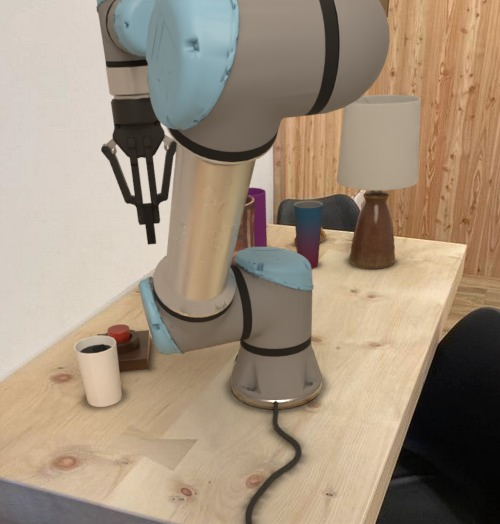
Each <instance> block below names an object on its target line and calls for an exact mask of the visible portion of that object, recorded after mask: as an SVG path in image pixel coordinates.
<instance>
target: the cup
mask: <svg viewBox="0 0 500 524" xmlns="http://www.w3.org/2000/svg"><path fill="white" fill-rule="evenodd" d="M293 208H294V223H295V224H294V225H295V237H296V244H295V245H296V253H298V254H300V255H302V256H304V257H305V258H306V259H307V260H308V261H309V263H310V265H311V268H312V269H315V268H317V267H318V266H319V257H320V256H319V255H320V244H321V242H320V233H321V227H322V222H323V221H322V220H323V219H322V218H323V208H324V203H323V202H322V201H319V200H312V199H311V200H310V199H309V200H300V201H297V202H294V204H293Z"/></svg>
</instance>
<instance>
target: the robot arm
mask: <svg viewBox="0 0 500 524" xmlns="http://www.w3.org/2000/svg"><path fill="white" fill-rule="evenodd" d="M95 9H96V12H97V14H98V21H99V27H100V34H101V39H102V46H103V48H102V49H103V54H104V60H105V71H106V79H107V85H108V93H109V95H110V96H113V98H112V99H111V101H110V106H111V113H112V120H113V132H112V138H111V139H110V140H109V141H107V142H106V143H103V144H102V145H101V149H100V152H101V153H102V154H103V156H104V157H105V158H106V159H107V161H108V162H109V164H110V167H111V169H112V173H113V175H114V178H115V180H116V182H117V184H118V187H119V190H120V193H121V196H122V197H123V201H124V202H125V204H127V205H129V204H130V205H133V206H135V209H136V216H137V223H138V224H139V226H143V225H144V226H145V234H146V241H147V246H149V245H156V244H157V237H156V227H155V224H156V225H157V224H160V222H161V216H160V214H161V213H160V206H159V205H160V204H161V203H163V202H166V201H168V200H169V193H170V186H171V178H172V172H173V179H172V180H173V181H172V191H171V201H170V202H171V203H170V214H169V222H168V223H169V224H168V235H167V246H166V255H165V256H163V257H162V258H161V259H160V260H159V262H158V263H157V264H156V267H155V268H154V271H153V277H152V276H147V277H146V278H144V279H141V280H140V281H139V282H138V291H139V295H140V300H141V305H142V308H143V311H144V316H145V319H146V322H147V326H148V330H149V333H150V337H151V339H152V341H153V344H154V347H155V349H156V351H157V352H158V353H159V354H161V355H162V356H163V355H164V356H169V355H170V356H171V355H176V354H179V355H183V354H186V353H190V352H193V351H194V352H195V351H199V350H203V349H208V348H212V347H217V346H222V345H227V344H231V343H237V342H239V348H238V352H237V354H236V355H235V359H234V362H233V363H234V364H233V365H234V366H233V369H232V373H231V377H230V383H231V391H232V393H233V395H234V396H235V397H236V399H238V400H239V401H240V402H242V403H244V404H246V405H248V406H251V407H255V408H259V409H266V410H273V412H272V413H273V415H272V425H273V428H274V429H275V431H276V432H277V433H278V434H279V436H281V437H282V438H284V439H285V440H287V441H288V442H289V443H291V444H292V445H293V446H294V448H295V451H296V453H295V456H294V457H293V459H291V460H290V461H289V462H287V464H285V465H283V466H282V467H281V468H279V469H278V470H276V471H274V472H273V473H272V474H270V476H269V477H268V478H267V479H265V481H264V482H263V483H262V485H261V486H260V487H259V488H258V490H257V491H256V492H255V493H254V495H253V496H252V497H251V499H250V501H249V503H248V505H247V508H246V511H245V524H253V522H252V515H253V514H252V512H253V509H254V507H255V505H256V504H257V501H258V500H259V499H260V497H261V496H262V495H263V493H264V492H265V491H266V490H267V489H268V488H269V486H270V485H271V484H272V482H274V481H275V480H276V479H277V478H278V477H279V476H281V475H282V474H284V473H285V472H287V471H289V470H290V469H292V468H293V467H294V466H295V465H296V464H297V463H298V462H299V460H300V458H301V456H302V448H301V447H302V446H301V445H300V443H299V442H298V441H297V440H296V439H295V438H294V437H292V436H290V435H289V434H288V433H286V432H285V431H284V430H282V428H281V427H280V426H279V424H278V418H279V410H283V409H292V408H295V407H299V406H303V405H305V404H307V403H309V402H311V401H313V400H314V399H315V398H316V397H317V396H319V394H320V393H321V390H322V385H323V377H322V376H323V375H322V372H321V369H320V368H321V367H320V366H319V362H318V359H317V357H316V354H315V351H314V348H313V345H312V330H313V327H312V326H313V290H314V284H313V283H314V282H313V272H312V271H313V270H312V269H313V268H311V265H310V263H309V261H308V260H307V259H306V258H305V257H304V256H302V255H300V254H298V253H297V251H296V252H295V251H294V250H293V251H292V250H289V249H285V248H280V247H273V246H267V247H250V248H245V249H243V250H240V251H238V253H237V254H236V257H235V264H232V265H231V262H232V258H233V254H234V249H235V245H236V241H237V237H238V233H239V228H240V224H241V220H242V216H243V212H244V207H245V203H246V199H247V195H248V191H249V188H251V187H250V185H251V182H252V178H253V174H254V171H255V170H254V168H255V166H256V161H257V160H258V159H260V158H262V157H264V156H265V155H266V154H267V153H268V152H269V151H270V150H271V149H272V148H273V146H274V145H275V142H276V140H277V137H278V133H279V130H280V126H281V123H282V120H284V119H287V118H298V117H306V116H314V115H315V116H316V115H325V114H328V113H332V112H335V111H338V110H341V109H344V107H346V106H347V105H349V104H351V103H353V102H354V101H356V100H357V99H359V98H360V97H361V96H364V94H366V92H368V91H369V90H370V89H371V88H372V86H373V85H374V84H375V82H376V81H377V79H378V78H379V76H380V74H381V73H382V71H383V69H384V68H385V67H384V66H385V63H386V61H387V57H388V54H389V47H390V26H389V21H388V17H387V14H386V11H385V9H384V7H383V5H382V3H381V1H380V0H96V7H95ZM162 125H163V126H164V127H165V128H166V130H167V133H168V134H169V135H170V136H171V137H170V136H168V135H166V133H165V129H164V128H163V127H162ZM162 143H163V149H164V151H165V156H164V162H163V163H164V164H163V171H162V180H161V189H160V192H158V189H157V180H156V170H155V163H154V162H155V161H154V156H156V154H157V152H158V150H159V148H160V146H161V145H162ZM117 146H118V148H119V149H120V150H121V151H122V152H123V153H124V155H125V156H126V157H128V158H129V164H130V169H131V177H132V185H133V192H134V194H132V193H131V190H130V187H129V185H128V182H127V179H126V176H125V175H124V172H123V169H122V167H121V163H120V162H119V158H118V156H117V152H118V149H117ZM174 156H175V160H174ZM140 158H143V159H145V165H146V172H147V181H148V188H149V197H150V202H145V203H144V198H143V191H142V183H141V173H140V166H139V159H140ZM173 163H174V164H173ZM173 165H174V168H173ZM173 169H174V170H173ZM172 170H173V171H172Z"/></svg>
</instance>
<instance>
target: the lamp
mask: <svg viewBox="0 0 500 524" xmlns="http://www.w3.org/2000/svg"><path fill="white" fill-rule="evenodd" d="M421 107H422V98H421V97H419V96H416V95H408V94H407V95H406V94H368V95H362V96H361V97H360V98H359V99H357V100H356V101H354V102H353V103H351V104H349V105H347V106H346V107H344V108H343V114H342V122H341V123H342V124H341V136H340V143H339V144H340V145H339V155H338V166H337V177H336V182H337V184H338V185H339V186H342V187H345V188H348V189H354V190H360V191H365V192H364V193H363V195H362V196H363V198H364V204H363V205H362V207H361V209H360V212H359V214H358V216H357V219H356V222H355V226H354V230H353V234H352V235H353V237H352V239H351V245H350V251H349V263H351V265H353V266H354V267H357V268H361V269H366V270H379V269H385V268H388V267H390V266H391V267H392V266H393V264H394V263H395V260H396V253H395V250H396V248H395V247H396V245H395V236H394V235H395V233H394V225H393V218H392V215H391V211H390V209H389V205H388V203H387V200H388V198H389V197H390V194H389V192H387V191H394V190H402V189H407V188H411V187H413V186H416V185H417V184H418V183H419V170H420V169H419V166H420V141H421V140H420V136H421V132H420V131H421Z"/></svg>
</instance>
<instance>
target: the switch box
mask: <svg viewBox="0 0 500 524" xmlns="http://www.w3.org/2000/svg"><path fill="white" fill-rule="evenodd" d="M100 335H102V336H108V331H107V332H105V333H97V335H96V336H100ZM130 335H131V339H129V340H127V341H124V342H118V343H116V346H117V355H118V363H119V372H124V371H125V372H127V371H137V370H140V371H141V370H149V363H150V352H151V351H150V350H151V333H150V330H149V329H146V330H134V329H130Z"/></svg>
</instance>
